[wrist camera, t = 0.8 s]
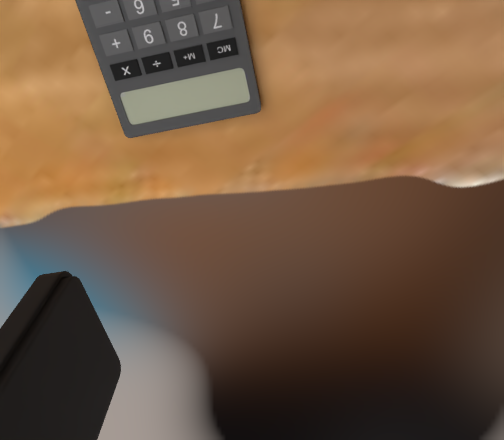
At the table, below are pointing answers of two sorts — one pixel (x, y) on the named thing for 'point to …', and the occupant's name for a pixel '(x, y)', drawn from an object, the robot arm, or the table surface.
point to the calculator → (172, 61)
